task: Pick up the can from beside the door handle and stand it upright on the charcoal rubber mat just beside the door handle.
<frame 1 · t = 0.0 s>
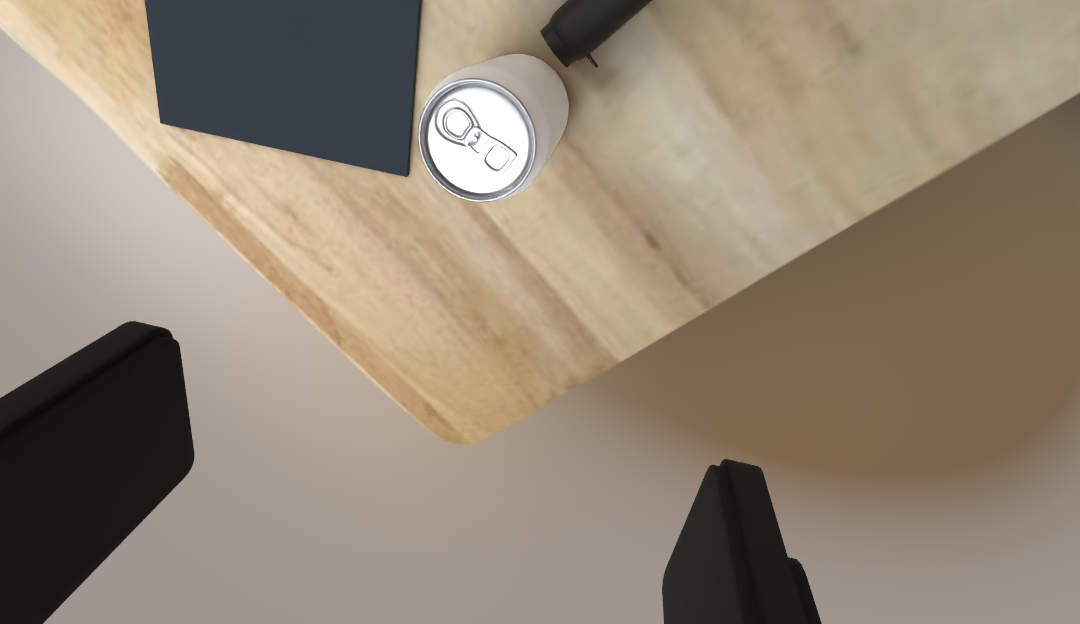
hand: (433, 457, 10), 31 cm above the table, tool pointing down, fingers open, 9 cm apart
can: (520, 107, 38), on the table
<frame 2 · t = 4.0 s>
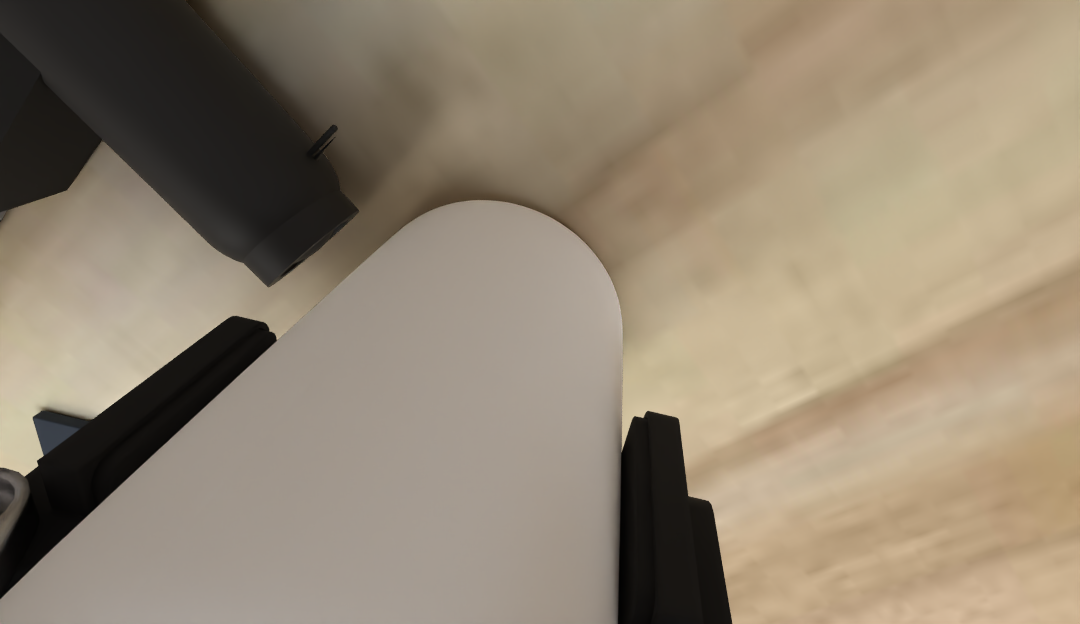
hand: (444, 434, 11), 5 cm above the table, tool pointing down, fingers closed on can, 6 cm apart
can: (497, 314, 15), on the table, touching gripper
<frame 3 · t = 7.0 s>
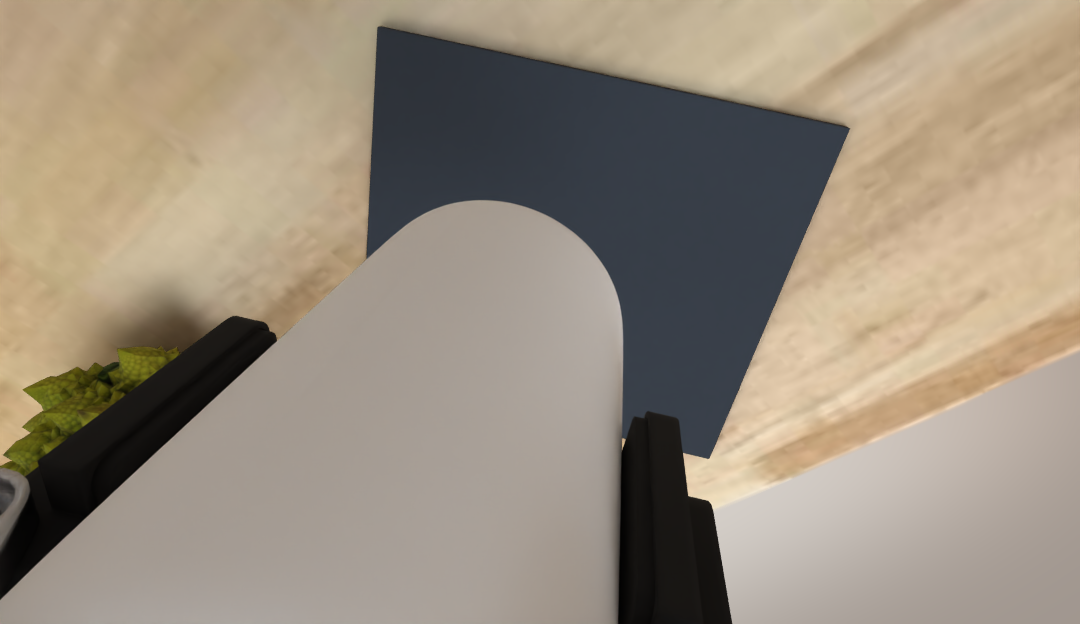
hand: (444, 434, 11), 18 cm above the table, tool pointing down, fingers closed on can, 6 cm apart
vegetable: (208, 411, 36), on the table
can: (497, 314, 15), point 13 cm above the table, touching gripper
mat: (566, 268, 28), on the table
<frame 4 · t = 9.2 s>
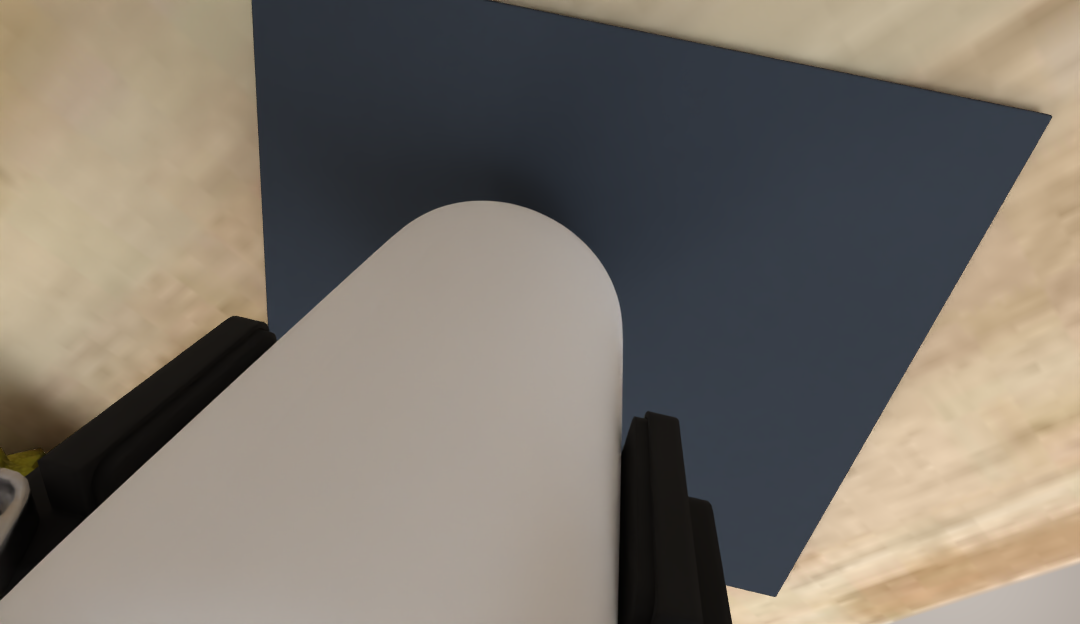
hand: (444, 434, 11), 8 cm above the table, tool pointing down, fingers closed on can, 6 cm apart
vegetable: (78, 514, 27), on the table
can: (497, 315, 15), point 3 cm above the table, touching gripper
mat: (568, 335, 19), on the table
when the fingers open (5 cm above the table, at t = 10.5 s): can stays where it is, resting on mat.
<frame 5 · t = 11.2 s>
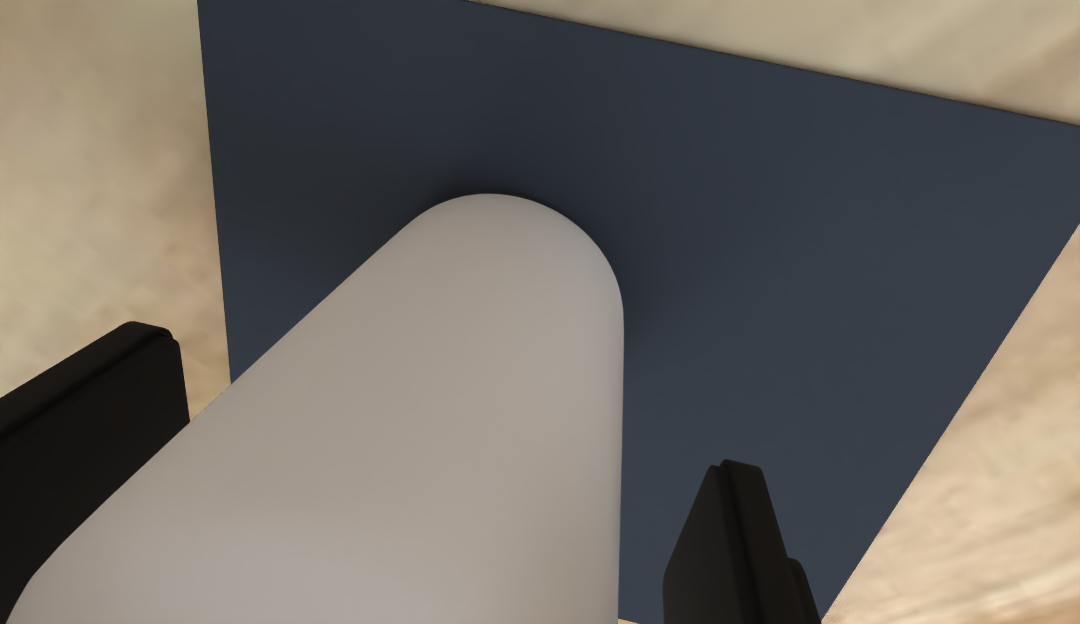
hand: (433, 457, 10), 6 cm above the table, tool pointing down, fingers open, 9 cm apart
can: (503, 304, 16), resting on mat
mat: (564, 379, 17), on the table
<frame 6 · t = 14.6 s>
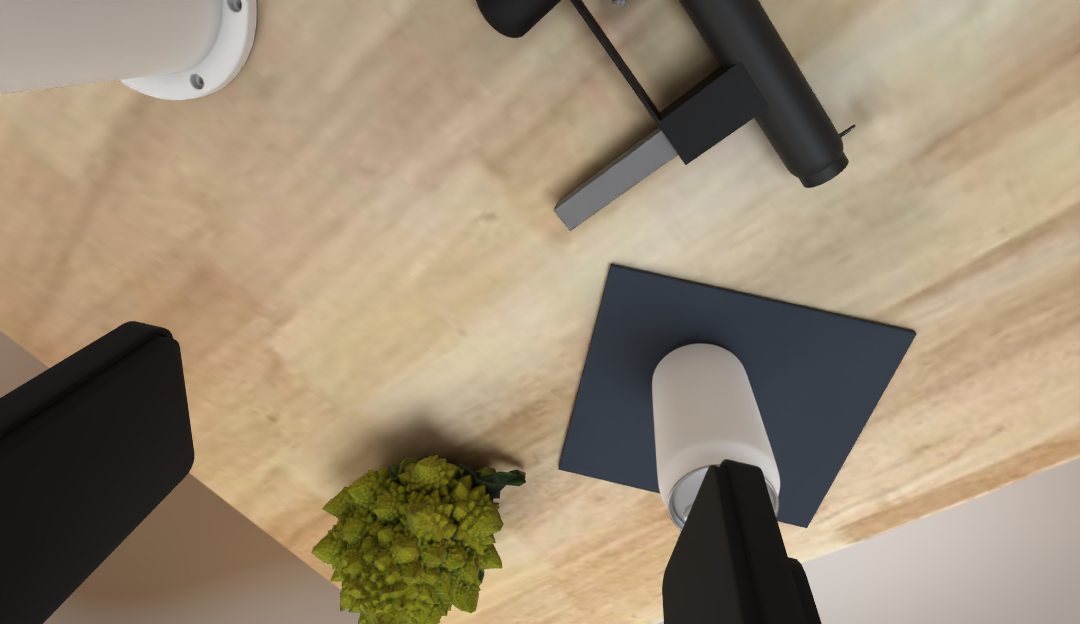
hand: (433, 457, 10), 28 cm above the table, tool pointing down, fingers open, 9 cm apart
door handle: (638, 85, 33), on the table
vegetable: (432, 489, 50), on the table
can: (697, 378, 41), resting on mat
mat: (717, 405, 42), on the table
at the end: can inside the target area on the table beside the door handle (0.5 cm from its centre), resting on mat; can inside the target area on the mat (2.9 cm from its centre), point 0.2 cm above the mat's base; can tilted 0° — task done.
